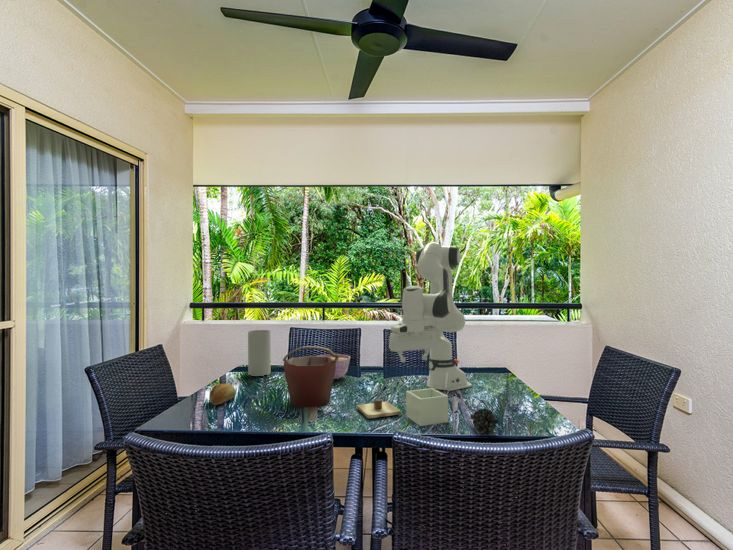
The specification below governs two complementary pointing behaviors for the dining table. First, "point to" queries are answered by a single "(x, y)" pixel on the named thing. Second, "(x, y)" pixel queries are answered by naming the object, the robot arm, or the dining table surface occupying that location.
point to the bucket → (310, 378)
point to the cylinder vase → (259, 353)
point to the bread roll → (222, 393)
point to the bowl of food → (340, 364)
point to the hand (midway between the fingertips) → (413, 361)
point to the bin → (427, 406)
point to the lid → (378, 409)
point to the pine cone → (484, 420)
